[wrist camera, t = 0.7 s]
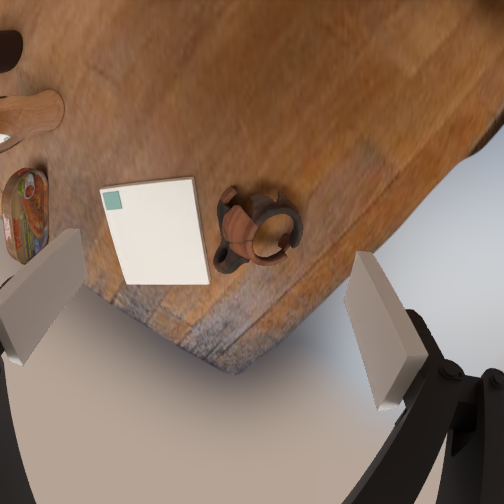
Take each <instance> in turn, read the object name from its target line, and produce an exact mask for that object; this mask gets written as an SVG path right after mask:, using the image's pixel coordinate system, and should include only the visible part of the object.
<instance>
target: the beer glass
mask: <svg viewBox="0 0 504 504" xmlns="http://www.w3.org/2000/svg"><path fill="white" fill-rule="evenodd" d="M63 115H64V104H63V100H62V98H61V96H60V95H59V93H57V92H56V91H54V90H50V89H49V90H44V91H42V92H40V93H38V94H35V95H32V96H17V95H8V96H0V155H1V154H3V153H5V152H7V151H9V150H11V149H12V148H14V147H16V146H17V145H19V144H20V143H21V142H23V141H24V140H26V139H27V138H29V137H30V136H32V135H33V134H36V133H39V132H49V131H52V130H54V129H55V128H57V127H58V126H59V124H60V123H61V121H62V118H63Z"/></svg>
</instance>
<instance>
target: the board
mask: <svg viewBox="0 0 504 504" xmlns="http://www.w3.org/2000/svg"><path fill="white" fill-rule="evenodd" d="M100 193H101V198H102V202H103V206H104V209H105V213H106V217H107V221H108V224H109V228H110V232H111V235H112V239H113V242H114V245H115V249H116V252H117V255H118V259H119V262H120V265H121V268H122V271H123V274H124V277H125V280H126V283H127V284H210V281H211V277H210V271H209V266H208V260H207V254H206V248H205V242H204V236H203V230H202V224H201V218H200V212H199V205H198V199H197V192H196V186H195V179H194V176H193V177H182V178H172V179H162V180H153V181H144V182H136V183H128V184H120V185H113V186H106V187H103V188H101V189H100Z"/></svg>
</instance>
